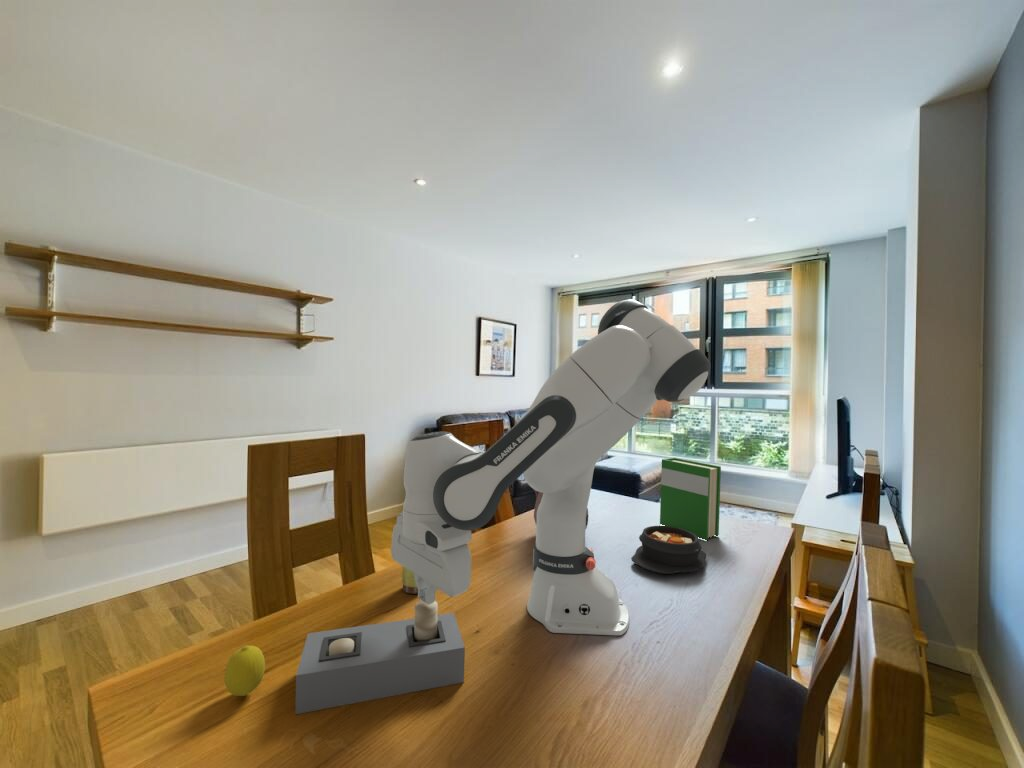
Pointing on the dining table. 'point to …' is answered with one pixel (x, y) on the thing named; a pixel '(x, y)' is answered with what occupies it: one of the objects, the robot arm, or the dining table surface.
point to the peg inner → (425, 621)
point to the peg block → (377, 663)
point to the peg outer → (341, 646)
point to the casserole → (669, 550)
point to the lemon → (244, 670)
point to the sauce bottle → (409, 581)
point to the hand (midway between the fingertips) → (426, 600)
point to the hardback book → (690, 496)
